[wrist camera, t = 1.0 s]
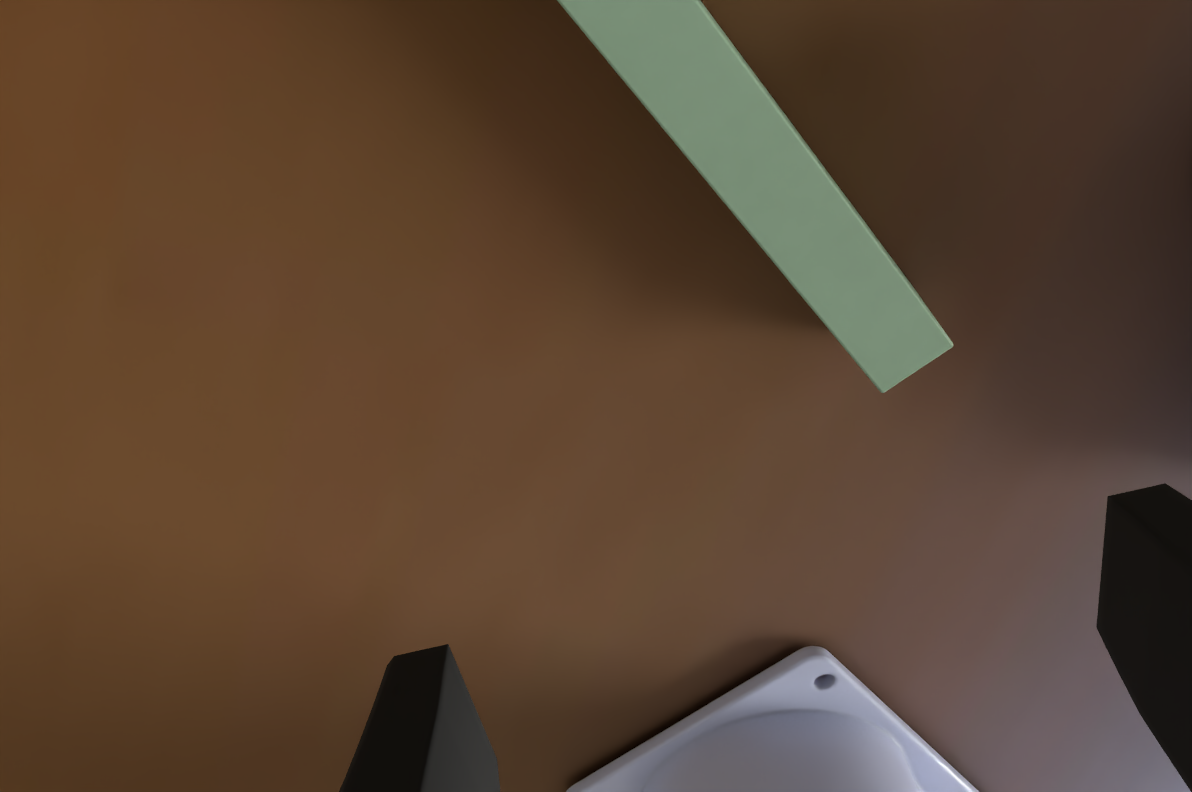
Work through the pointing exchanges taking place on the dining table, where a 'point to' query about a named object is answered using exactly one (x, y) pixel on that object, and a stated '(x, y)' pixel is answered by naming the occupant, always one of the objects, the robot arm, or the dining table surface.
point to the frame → (766, 177)
